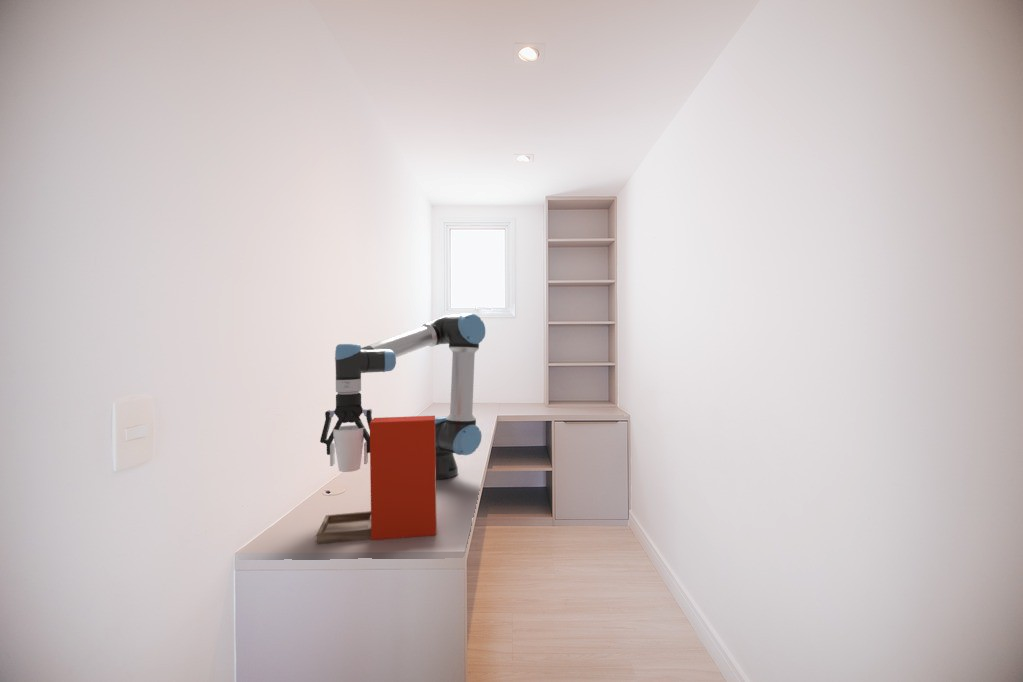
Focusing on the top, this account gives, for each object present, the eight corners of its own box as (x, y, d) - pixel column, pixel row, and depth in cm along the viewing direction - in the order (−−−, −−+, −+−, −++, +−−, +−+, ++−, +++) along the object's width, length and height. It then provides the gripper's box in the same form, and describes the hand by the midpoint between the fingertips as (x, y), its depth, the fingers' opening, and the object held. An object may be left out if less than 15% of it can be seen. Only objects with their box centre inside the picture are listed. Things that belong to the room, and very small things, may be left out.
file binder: (435, 536, 123) (434, 419, 123) (371, 540, 121) (369, 422, 121) (436, 524, 131) (435, 415, 131) (375, 528, 129) (374, 417, 129)
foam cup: (358, 463, 147) (358, 423, 147) (370, 469, 140) (369, 427, 140) (329, 469, 141) (328, 427, 141) (339, 475, 134) (338, 431, 134)
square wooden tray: (326, 523, 133) (325, 515, 133) (375, 518, 136) (375, 510, 136) (316, 544, 119) (316, 534, 119) (371, 538, 122) (371, 529, 122)
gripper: (307, 395, 135) (308, 469, 135) (383, 392, 139) (384, 465, 138) (315, 392, 143) (315, 462, 143) (386, 390, 146) (387, 459, 146)
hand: (349, 464), depth 140 cm, fingers closed on foam cup, 9 cm apart
